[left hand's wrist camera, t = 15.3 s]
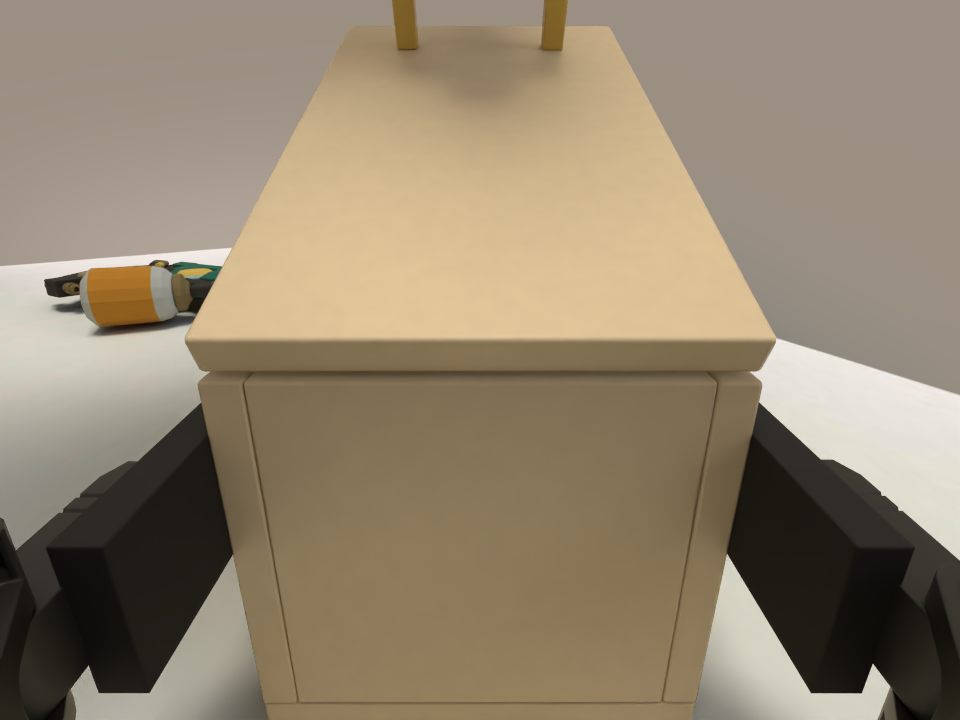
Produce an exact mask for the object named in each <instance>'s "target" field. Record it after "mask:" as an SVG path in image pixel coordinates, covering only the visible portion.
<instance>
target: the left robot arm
mask: <svg viewBox="0 0 960 720" xmlns="http://www.w3.org/2000/svg"><path fill="white" fill-rule="evenodd" d="M727 554H728V556H729V557H730V559H731V561H732V562H733V564H734V566H735V567H736V569H737V571H738V572H739V574H740V576H741V577H742V579H743V581H744V582H745V584H746V586H747V587H748V589H749V591H750V592H751V594H752V596H753V597H754V599H755V601H756V602H757V604H758V606H759V607H760V609H761V611H762V612H763V614H764V616H765V617H766V619H767V621H768V622H769V624H770V626H771V627H772V629H773V630H774V632H775V634H776V635H777V637H778V639H779V640H780V642H781V644H782V645H783V647H784V649H785V650H786V652H787V654H788V655H789V657H790V659H791V660H792V662H793V664H794V665H795V667H796V669H797V670H798V672H799V674H800V675H801V677H802V679H803V680H804V682H805V684H806V685H807V687H808V689H809V690H810V692H811V693H862V691H863V688H864V686H865V683H866V680H867V678H868V675H869V672H870V669H871V667H872V664H874V665H875V667H876V668H877V669H878V671H879V672H880V673H881V675H882V676H883V677H884V679H885V680H886V681H887V683H888V684H889V685H890V690H889V692H888V695H887V697H886V700H885V702H884V705H883V707H882V710H881V713H880V715H879V718H878V720H960V561H959V560H958V559H957V558H956V557H955V556H954V555H953V554H951V553H950V552H949V551H948V550H947V549H946V548H944V547H943V546H942V545H941V544H940V543H939V542H938V541H936V540H935V539H934V538H933V537H932V536H931V535H930V534H928V533H927V532H926V531H925V530H924V529H923V528H921V527H920V526H919V525H918V524H917V523H916V522H915V521H913V520H912V519H911V518H910V517H909V516H908V515H906V514H905V513H904V512H903V511H899V510H898V507H897V506H896V505H895V504H894V503H893V502H892V501H890V500H889V499H888V498H887V497H886V496H881V492H880V491H879V490H878V489H877V488H875V487H874V486H873V485H872V484H871V483H870V482H869V481H867V480H866V479H865V478H864V477H863V476H862V475H860V474H858V473H857V472H855V471H853V470H851V469H849V468H847V467H845V466H844V465H842V464H840V463H838V462H836V461H834V460H821V459H820V458H818V457H817V456H816V455H815V454H814V453H813V452H812V451H811V450H810V449H809V448H808V447H807V446H805V445H804V444H803V443H802V442H801V441H800V440H799V439H798V438H797V437H796V436H795V435H794V434H793V433H791V432H790V431H789V430H788V429H787V428H786V427H785V426H784V425H783V424H782V423H781V422H780V421H779V420H777V419H776V418H775V417H774V416H773V415H772V414H771V413H770V412H769V411H768V410H767V409H766V408H765V407H763V406H762V405H761V404H760V403H759V404H758V409H757V413H756V418H755V423H754V428H753V432H752V437H751V442H750V447H749V451H748V456H747V461H746V466H745V470H744V475H743V480H742V485H741V489H740V494H739V499H738V504H737V508H736V513H735V518H734V523H733V527H732V532H731V537H730V542H729V546H728V551H727ZM232 555H233V552H232V547H231V542H230V537H229V533H228V528H227V523H226V518H225V513H224V509H223V504H222V499H221V494H220V490H219V485H218V480H217V475H216V470H215V466H214V461H213V456H212V451H211V446H210V442H209V437H208V432H207V427H206V422H205V418H204V413H203V408H202V403H200V404H199V405H198V406H197V407H196V408H195V409H194V410H193V411H192V412H191V413H190V414H189V415H187V416H186V417H185V418H184V419H183V420H182V421H181V422H180V423H179V424H178V425H177V426H176V427H174V428H173V429H172V430H171V431H170V432H169V433H168V434H167V435H166V436H165V437H164V438H163V439H162V440H160V441H159V442H158V443H157V444H156V445H155V446H154V447H153V448H152V449H151V450H150V451H149V452H148V453H146V454H145V455H144V456H143V457H142V458H141V459H140V460H139V461H128V462H126V463H125V464H123V465H121V466H119V467H117V468H115V469H114V470H112V471H110V472H108V473H106V474H104V475H102V476H101V477H99V478H98V479H97V480H96V481H95V482H94V483H93V484H91V485H90V486H89V487H88V488H87V489H86V490H85V491H83V492H82V493H81V494H80V498H75V499H74V500H73V501H72V502H71V503H70V504H69V505H67V506H66V507H65V508H64V509H63V513H58V514H57V515H56V516H55V517H54V518H53V519H51V520H50V521H49V522H48V523H47V524H46V525H45V526H43V527H42V528H41V529H40V530H39V531H38V532H37V533H35V534H34V535H33V536H32V537H31V538H30V539H29V540H27V541H26V542H25V543H24V544H23V545H22V546H21V547H19V548H18V549H17V550H15V547H14V545H13V542H12V540H11V537H10V535H9V532H8V530H7V527H6V524H5V522H4V520H3V519H1V518H0V720H75V718H76V706H75V701H74V697H73V695H72V692H71V690H70V689H71V688H72V686H73V685H74V684H75V682H76V681H77V680H78V678H79V677H80V676H81V674H82V673H83V672H84V670H85V669H86V668H87V666H88V665H89V667H90V670H91V673H92V676H93V678H94V681H95V684H96V686H97V689H98V692H99V693H150V691H151V690H152V688H153V686H154V685H155V683H156V681H157V680H158V678H159V676H160V675H161V673H162V671H163V670H164V668H165V666H166V665H167V663H168V661H169V660H170V658H171V656H172V655H173V653H174V651H175V650H176V648H177V646H178V645H179V643H180V641H181V640H182V638H183V636H184V635H185V633H186V631H187V630H188V628H189V626H190V625H191V623H192V621H193V620H194V618H195V616H196V615H197V613H198V611H199V610H200V608H201V606H202V605H203V603H204V601H205V600H206V598H207V597H208V595H209V593H210V592H211V590H212V588H213V587H214V585H215V583H216V582H217V580H218V578H219V577H220V575H221V573H222V572H223V570H224V568H225V567H226V565H227V563H228V562H229V560H230V558H231V557H232Z"/></svg>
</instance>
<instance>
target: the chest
mask: <svg viewBox="0 0 960 720" xmlns="http://www.w3.org/2000/svg"><path fill="white" fill-rule="evenodd" d="M198 389H199V394H200V398H201V403H202V408H203V413H204V418H205V422H206V427H207V432H208V437H209V442H210V446H211V451H212V456H213V461H214V466H215V470H216V475H217V480H218V485H219V490H220V494H221V499H222V504H223V509H224V513H225V518H226V523H227V528H228V533H229V537H230V542H231V547H232V552H233V557H234V561H235V566H236V571H237V576H238V581H239V585H240V590H241V595H242V600H243V605H244V609H245V614H246V619H247V624H248V629H249V633H250V638H251V643H252V648H253V653H254V657H255V662H256V667H257V672H258V677H259V681H260V686H261V691H262V696H263V701H264V702H265V707H266V712H267V716H268V720H692V716H693V711H694V707H695V702H694V701H696V698H697V694H698V689H699V684H700V679H701V675H702V670H703V665H704V660H705V656H706V651H707V646H708V641H709V637H710V632H711V627H712V622H713V618H714V613H715V608H716V603H717V599H718V594H719V589H720V584H721V580H722V575H723V570H724V565H725V561H726V556H727V551H728V546H729V542H730V537H731V532H732V527H733V523H734V518H735V513H736V508H737V504H738V499H739V494H740V489H741V485H742V480H743V475H744V470H745V466H746V461H747V456H748V451H749V447H750V442H751V437H752V432H753V428H754V423H755V418H756V413H757V409H758V404H759V399H760V394H761V390H762V383H761V381H760V380H759V379H757V378H756V377H755V376H754V375H753V374H751V373H750V372H749V371H211V372H210V373H208V374H207V375H206V376H205V377H204V378H202V379H201V380H200V381H199V382H198Z"/></svg>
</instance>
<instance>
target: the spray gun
mask: <svg viewBox="0 0 960 720" xmlns="http://www.w3.org/2000/svg"><path fill="white" fill-rule="evenodd" d="M221 268H222V267H221V266H212V265H202V264H197V263H188V262H179V263H175V264H173V265H169V262H168V261H162V260H154V261H153V262H151V263H150V264H149V265H144V266H129V267H115V268H91V269H89V270H88V271H84V272H80V273H75V274H71V275H67V276H63V277H58V278H52V279H45V280H44V281H45V287H46V290H47V294H48V295H50V296H54V297H59V298H60V297H67V296H74V295H80V300H81V305H82V308H83V311H84V313H85V315H86V317H87V318H88V319H89V320H90V321H92V322H93V323H95V324H96V325H97V326H99V327H105V326H116V325H126V324H137V323H147V322H158V321H165V320H168V319H171V318H173V317H174V316H175V315H176V313H177V312H178V311H184V310H188V307H189V305H190V303H191V302H192V300H193V298H206V297H207V295H208V293H209V291H210V289H211V287H212V285H213V284H214V282H215V280H216V278H217V276H218V274H219V272H220V270H221Z"/></svg>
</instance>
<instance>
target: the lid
mask: <svg viewBox="0 0 960 720" xmlns="http://www.w3.org/2000/svg"><path fill="white" fill-rule="evenodd" d="M567 2H568V0H544V10H543V24H542V26H417V17H416V4H415V0H392V4H393V14H394V24H395V26H351V27H350V28H349V30H348V31H347V33H346V35H345V37H344V39H343V41H342V43H341V45H340V46H339V49H338V50H337V52H336V54H335V56H334V58H333V60H332V62H331V63H330V65H329V67H328V69H327V71H326V73H325V75H324V77H323V78H322V80H321V82H320V84H319V86H318V88H317V90H316V92H315V93H314V95H313V97H312V99H311V101H310V103H309V105H308V107H307V109H306V110H305V112H304V114H303V116H302V118H301V120H300V122H299V124H298V125H297V127H296V129H295V131H294V133H293V135H292V137H291V139H290V141H289V142H288V144H287V146H286V148H285V150H284V152H283V154H282V156H281V157H280V159H279V161H278V163H277V165H276V167H275V169H274V171H273V173H272V174H271V176H270V178H269V180H268V182H267V184H266V186H265V188H264V190H263V191H262V193H261V195H260V197H259V199H258V201H257V203H256V205H255V206H254V208H253V210H252V212H251V214H250V216H249V218H248V220H247V221H246V223H245V225H244V227H243V229H242V231H241V233H240V235H239V237H238V238H237V240H236V242H235V244H234V246H233V248H232V250H231V252H230V253H229V255H228V257H227V259H226V261H225V263H224V265H223V267H222V268H221V270H220V272H219V274H218V276H217V278H216V280H215V282H214V284H213V285H212V287H211V289H210V291H209V293H208V295H207V297H206V299H205V300H204V302H203V304H202V306H201V308H200V310H199V312H198V314H197V316H196V317H195V319H194V321H193V323H192V325H191V327H190V329H189V331H188V332H187V334H186V336H185V344H186V345H187V347H188V349H189V351H190V353H191V354H192V356H193V358H194V360H195V362H196V363H197V365H198V367H199V369H201V370H202V371H759V370H760V369H761V368H762V367H763V365H764V363H765V361H766V359H767V358H768V356H769V354H770V352H771V350H772V349H773V347H774V345H775V343H776V337H775V335H774V333H773V331H772V329H771V327H770V326H769V324H768V322H767V320H766V318H765V316H764V314H763V312H762V311H761V309H760V307H759V305H758V303H757V301H756V299H755V298H754V296H753V294H752V292H751V290H750V288H749V286H748V284H747V283H746V281H745V279H744V277H743V275H742V273H741V271H740V270H739V268H738V266H737V264H736V262H735V260H734V258H733V257H732V255H731V253H730V251H729V249H728V247H727V245H726V243H725V242H724V240H723V238H722V236H721V234H720V232H719V231H718V229H717V227H716V225H715V223H714V221H713V219H712V217H711V216H710V214H709V212H708V210H707V208H706V206H705V204H704V203H703V201H702V199H701V197H700V195H699V193H698V191H697V190H696V188H695V186H694V184H693V182H692V180H691V178H690V176H689V175H688V173H687V171H686V169H685V167H684V165H683V163H682V162H681V160H680V158H679V156H678V154H677V152H676V150H675V148H674V147H673V145H672V143H671V141H670V139H669V137H668V135H667V134H666V132H665V130H664V128H663V126H662V124H661V122H660V121H659V119H658V117H657V115H656V113H655V111H654V109H653V108H652V106H651V104H650V102H649V100H648V98H647V96H646V95H645V93H644V91H643V89H642V87H641V85H640V83H639V82H638V80H637V78H636V76H635V74H634V72H633V70H632V68H631V67H630V65H629V63H628V61H627V59H626V57H625V55H624V53H623V52H622V50H621V48H620V46H619V44H618V42H617V40H616V39H615V37H614V35H613V33H612V31H611V29H610V28H609V27H608V26H565V22H566V12H567Z"/></svg>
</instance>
